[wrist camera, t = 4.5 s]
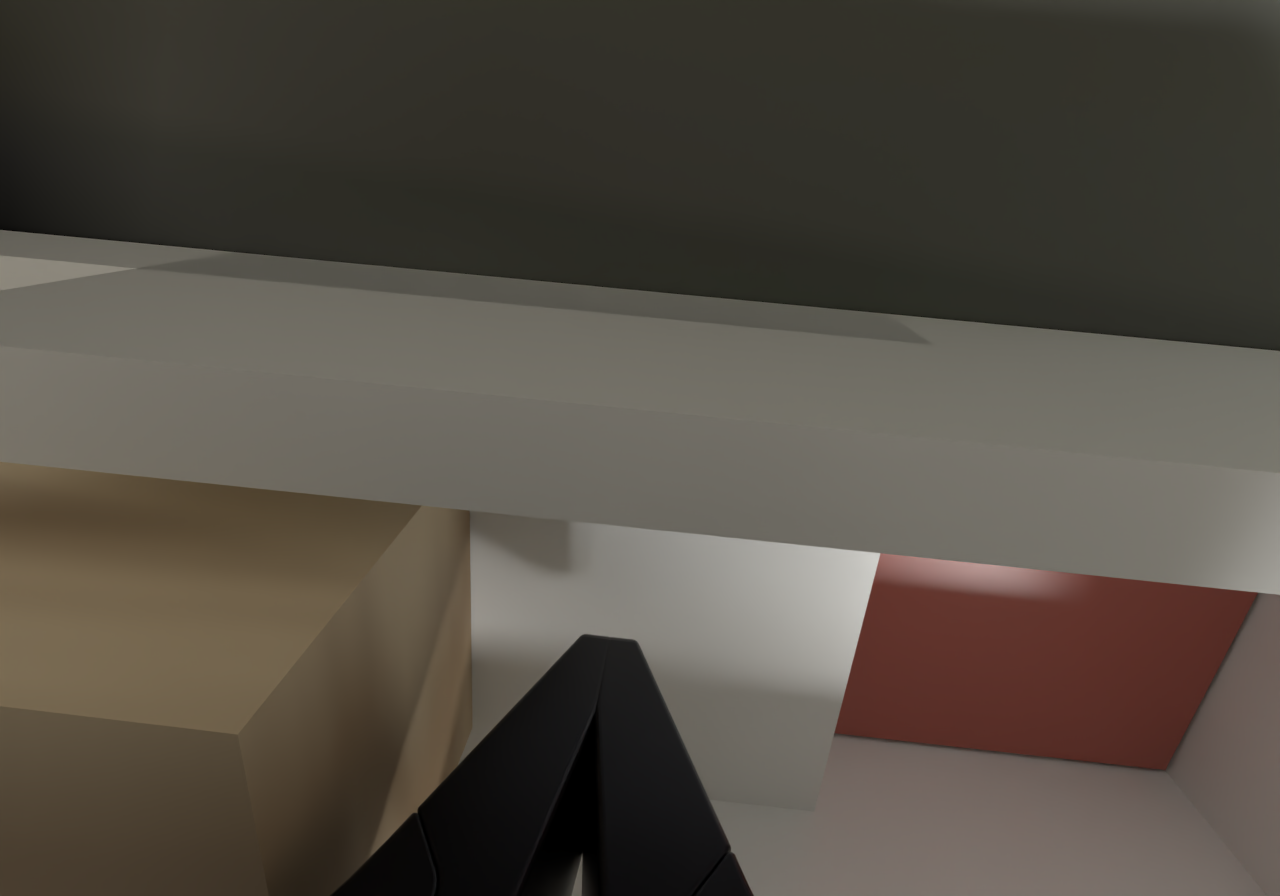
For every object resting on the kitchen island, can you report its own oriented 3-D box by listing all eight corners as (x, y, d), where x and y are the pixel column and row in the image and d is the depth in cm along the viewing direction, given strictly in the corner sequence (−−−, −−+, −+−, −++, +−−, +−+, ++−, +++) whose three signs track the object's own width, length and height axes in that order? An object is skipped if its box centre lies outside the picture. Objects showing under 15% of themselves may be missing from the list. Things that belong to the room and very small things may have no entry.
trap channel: (1190, 804, 13) (1509, 1200, 8) (-122, 656, 14) (-590, 935, 9) (1433, 365, 10) (2256, 569, 5) (-325, 198, 10) (-1284, 218, 5)
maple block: (471, 727, 11) (314, 1133, 6) (175, 692, 11) (-195, 1065, 6) (468, 447, 9) (237, 734, 4) (109, 409, 9) (-485, 648, 4)
